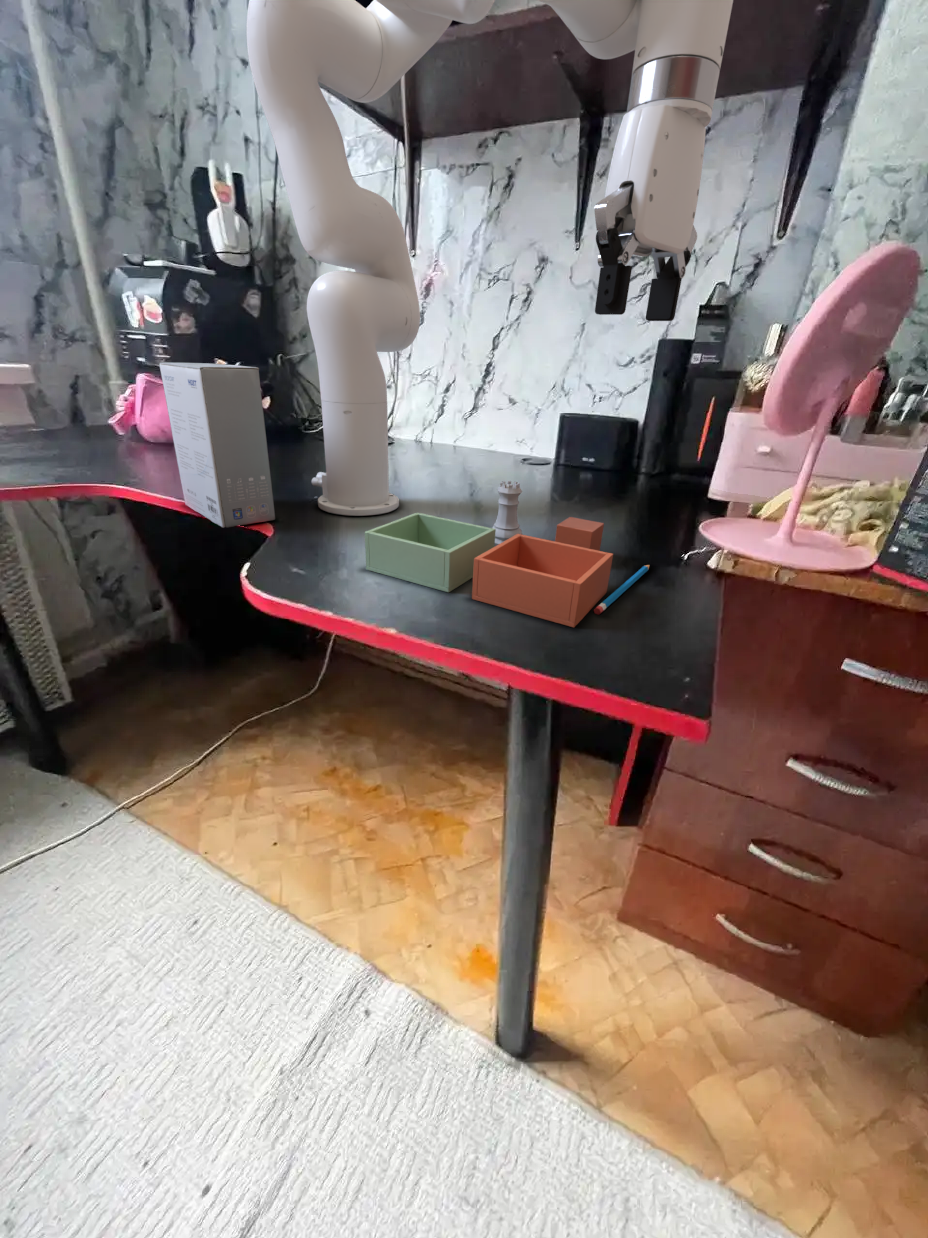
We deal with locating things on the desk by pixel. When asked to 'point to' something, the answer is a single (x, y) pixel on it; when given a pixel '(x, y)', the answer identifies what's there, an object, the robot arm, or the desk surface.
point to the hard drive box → (220, 441)
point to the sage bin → (427, 550)
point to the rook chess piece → (507, 512)
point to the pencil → (620, 590)
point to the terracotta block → (580, 533)
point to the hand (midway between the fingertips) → (635, 317)
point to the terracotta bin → (542, 578)
